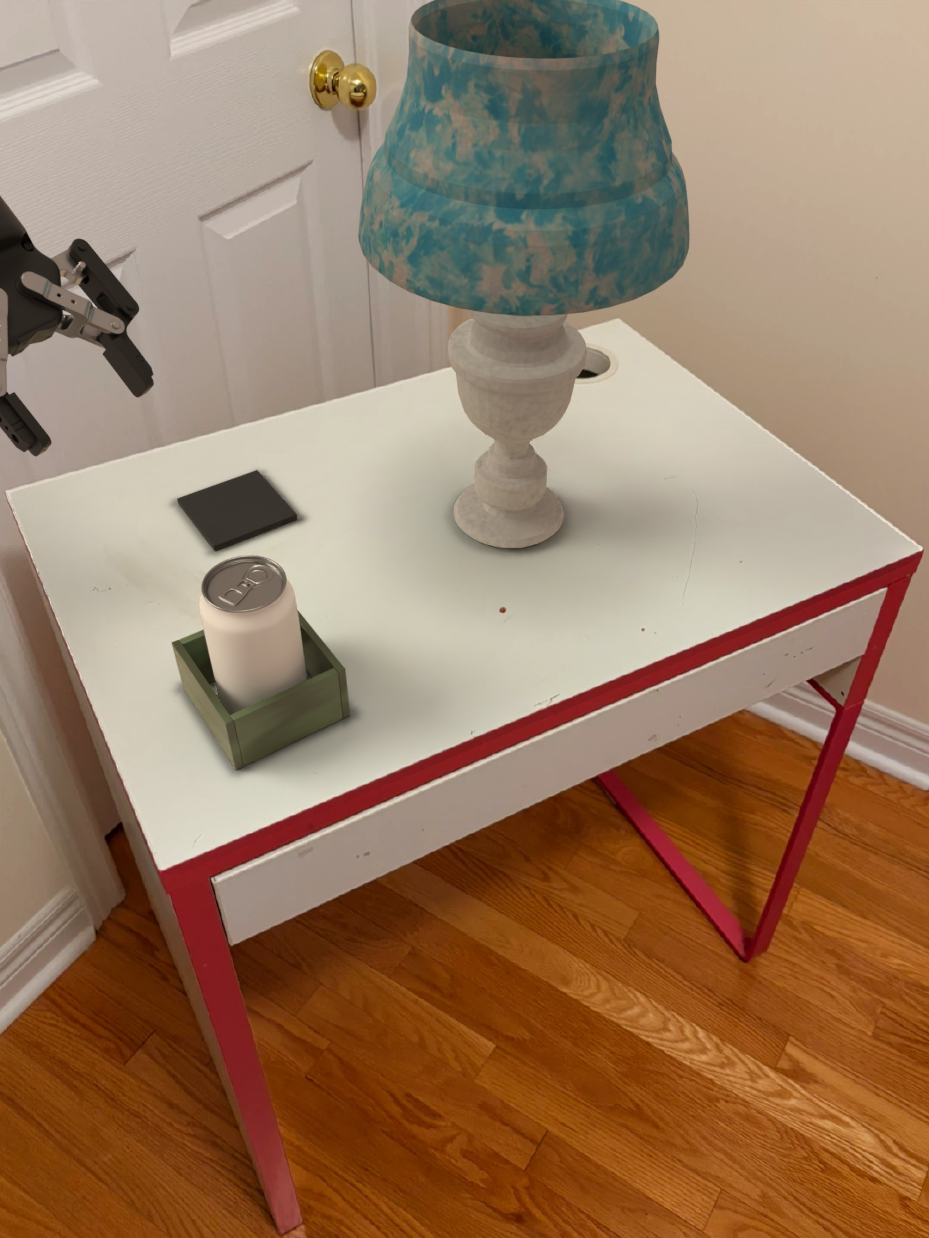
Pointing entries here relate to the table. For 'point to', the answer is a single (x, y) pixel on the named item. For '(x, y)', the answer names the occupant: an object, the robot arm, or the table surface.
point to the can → (251, 630)
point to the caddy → (266, 700)
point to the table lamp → (525, 214)
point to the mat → (236, 509)
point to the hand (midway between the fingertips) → (97, 419)
